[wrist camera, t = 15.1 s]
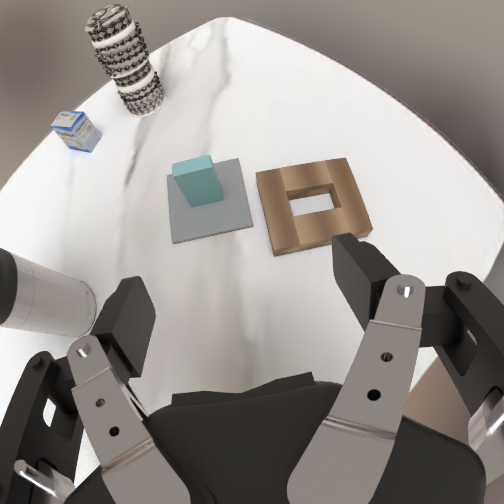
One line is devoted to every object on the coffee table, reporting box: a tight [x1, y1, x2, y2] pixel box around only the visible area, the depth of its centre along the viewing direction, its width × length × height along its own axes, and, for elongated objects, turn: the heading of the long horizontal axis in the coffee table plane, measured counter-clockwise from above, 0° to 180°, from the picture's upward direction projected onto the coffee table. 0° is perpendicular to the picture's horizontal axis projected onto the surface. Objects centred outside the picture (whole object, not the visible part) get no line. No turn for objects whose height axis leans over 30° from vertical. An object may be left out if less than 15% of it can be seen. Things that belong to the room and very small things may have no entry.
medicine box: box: [51, 111, 101, 152], centre depth 47 cm, size 8×4×9 cm, turn 70°
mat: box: [167, 158, 253, 244], centre depth 43 cm, size 12×12×1 cm
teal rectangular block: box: [172, 155, 224, 208], centre depth 39 cm, size 5×2×9 cm, turn 102°
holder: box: [256, 158, 373, 256], centre depth 40 cm, size 14×12×3 cm
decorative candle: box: [85, 4, 166, 118], centre depth 40 cm, size 9×9×25 cm
